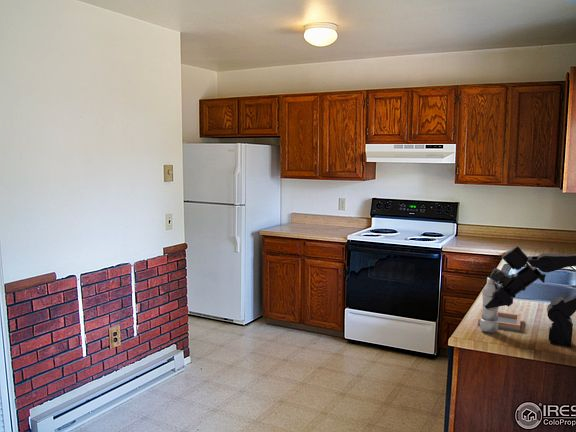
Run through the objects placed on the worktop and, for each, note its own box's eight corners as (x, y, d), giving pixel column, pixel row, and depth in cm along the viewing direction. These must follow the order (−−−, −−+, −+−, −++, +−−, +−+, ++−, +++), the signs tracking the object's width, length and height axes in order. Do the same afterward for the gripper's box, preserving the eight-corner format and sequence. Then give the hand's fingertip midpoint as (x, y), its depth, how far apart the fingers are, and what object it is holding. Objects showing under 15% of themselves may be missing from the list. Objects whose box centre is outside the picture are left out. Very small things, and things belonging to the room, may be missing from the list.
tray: (520, 320, 193) (520, 314, 193) (519, 331, 181) (520, 325, 180) (480, 314, 200) (481, 309, 199) (477, 325, 187) (478, 319, 186)
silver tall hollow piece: (475, 331, 180) (479, 277, 177) (484, 327, 184) (487, 275, 182) (493, 336, 175) (497, 281, 173) (501, 331, 180) (505, 278, 177)
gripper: (506, 257, 183) (473, 282, 189) (504, 266, 167) (468, 294, 173) (528, 280, 181) (493, 305, 187) (528, 292, 164) (490, 319, 170)
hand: (486, 305), depth 179 cm, fingers closed on silver tall hollow piece, 6 cm apart
